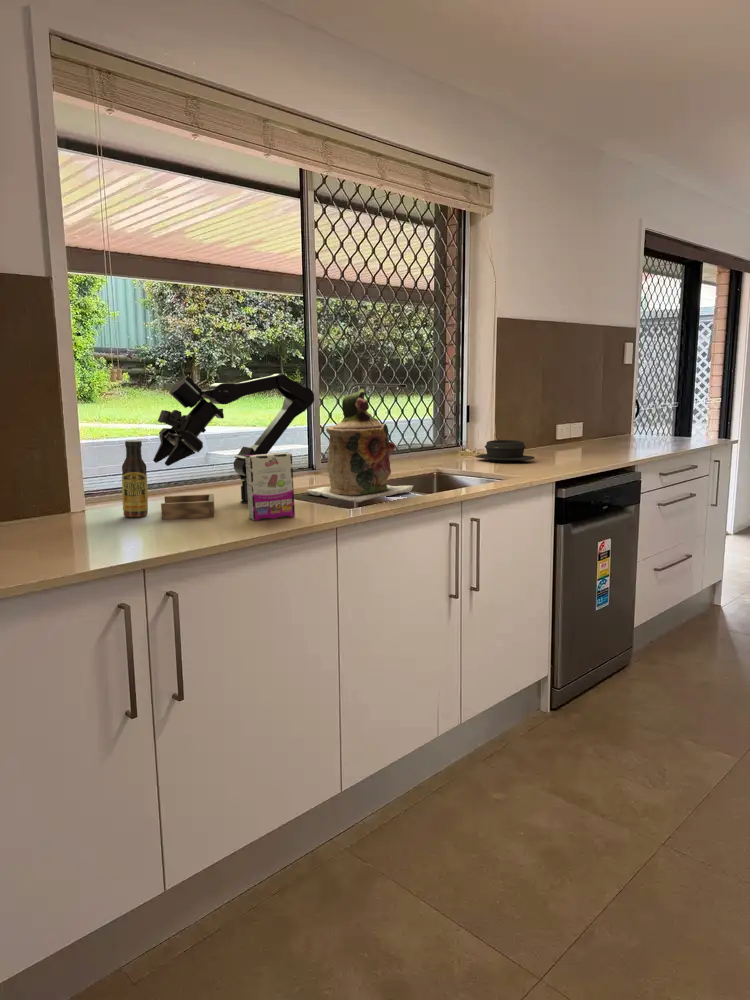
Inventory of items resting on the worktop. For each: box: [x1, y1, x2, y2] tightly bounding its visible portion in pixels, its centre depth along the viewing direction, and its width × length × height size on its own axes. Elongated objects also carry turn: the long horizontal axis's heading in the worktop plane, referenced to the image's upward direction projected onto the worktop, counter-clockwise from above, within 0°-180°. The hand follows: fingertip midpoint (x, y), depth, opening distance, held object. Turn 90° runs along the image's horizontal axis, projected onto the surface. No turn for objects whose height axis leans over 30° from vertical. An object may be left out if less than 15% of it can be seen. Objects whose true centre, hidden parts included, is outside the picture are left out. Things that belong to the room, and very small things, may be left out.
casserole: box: [475, 439, 536, 464], centre depth 293 cm, size 25×19×8 cm
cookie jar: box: [306, 388, 414, 503], centre depth 214 cm, size 25×25×32 cm
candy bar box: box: [245, 451, 296, 522], centre depth 179 cm, size 11×5×16 cm, turn 118°
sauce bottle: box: [121, 439, 149, 519], centre depth 183 cm, size 7×6×20 cm
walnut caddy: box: [160, 493, 215, 520], centre depth 187 cm, size 13×13×4 cm
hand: (160, 463), depth 187 cm, fingers open, 9 cm apart
